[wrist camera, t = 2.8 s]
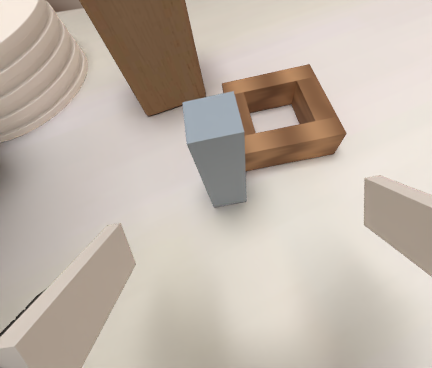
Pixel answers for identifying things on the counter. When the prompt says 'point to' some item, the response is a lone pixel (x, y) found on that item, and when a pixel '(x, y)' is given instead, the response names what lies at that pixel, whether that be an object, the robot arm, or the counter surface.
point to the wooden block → (151, 49)
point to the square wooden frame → (293, 135)
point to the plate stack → (35, 66)
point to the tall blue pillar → (217, 146)
